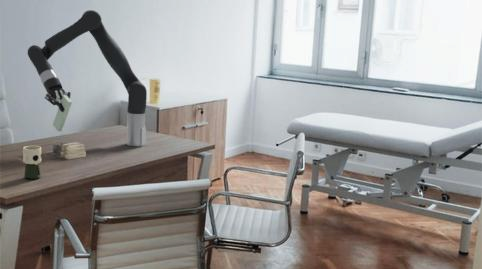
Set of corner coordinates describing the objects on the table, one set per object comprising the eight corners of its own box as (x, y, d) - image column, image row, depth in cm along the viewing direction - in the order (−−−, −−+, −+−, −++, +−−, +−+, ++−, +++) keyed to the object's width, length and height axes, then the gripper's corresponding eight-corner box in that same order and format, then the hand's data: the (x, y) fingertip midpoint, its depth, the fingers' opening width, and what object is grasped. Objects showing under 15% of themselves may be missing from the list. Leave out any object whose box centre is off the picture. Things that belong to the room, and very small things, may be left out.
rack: (44, 153, 280) (44, 140, 279) (66, 150, 289) (66, 137, 288) (66, 161, 269) (66, 147, 268) (88, 158, 278) (88, 144, 277)
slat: (52, 124, 282) (63, 95, 273) (56, 124, 284) (66, 95, 275) (57, 131, 280) (68, 102, 271) (61, 130, 281) (72, 101, 272)
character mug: (31, 182, 236) (31, 151, 234) (16, 180, 238) (16, 149, 236) (48, 175, 246) (47, 145, 244) (33, 173, 249) (33, 143, 246)
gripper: (40, 77, 273) (55, 107, 268) (66, 76, 283) (81, 104, 278) (34, 87, 277) (49, 117, 272) (60, 85, 287) (74, 114, 282)
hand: (65, 110), depth 275 cm, fingers closed on slat, 1 cm apart
